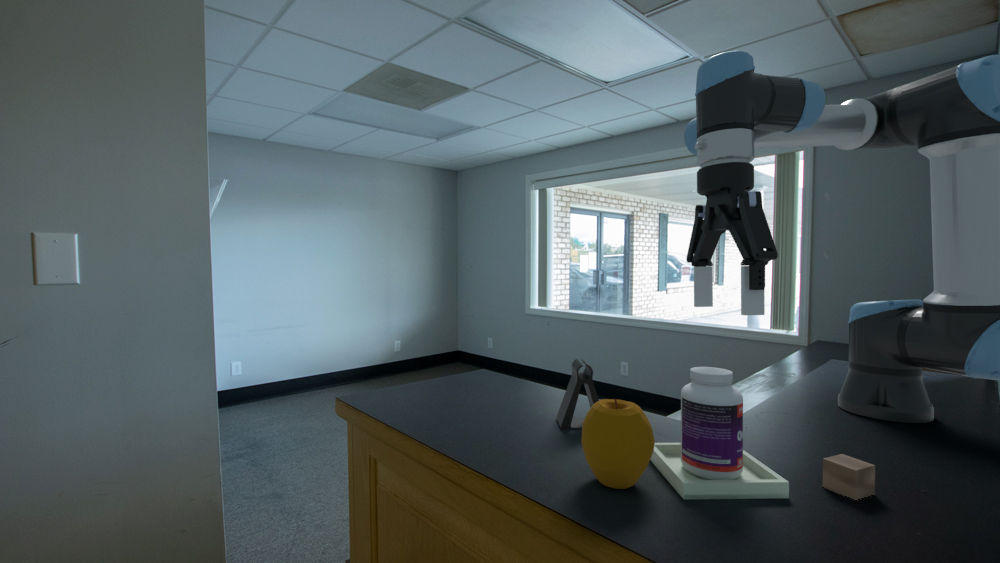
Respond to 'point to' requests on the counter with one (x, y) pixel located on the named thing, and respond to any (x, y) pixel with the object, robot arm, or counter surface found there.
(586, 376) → the phone stand
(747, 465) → the tray
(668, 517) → the counter surface
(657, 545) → the counter surface
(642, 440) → the apple
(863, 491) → the walnut block
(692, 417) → the pill bottle
